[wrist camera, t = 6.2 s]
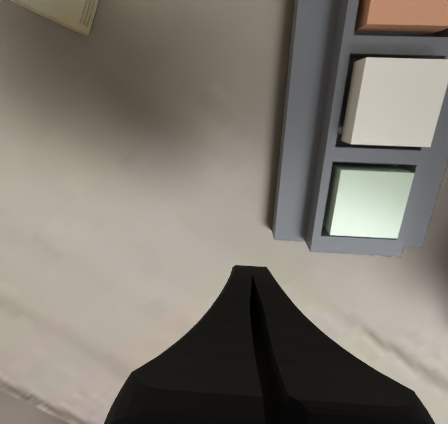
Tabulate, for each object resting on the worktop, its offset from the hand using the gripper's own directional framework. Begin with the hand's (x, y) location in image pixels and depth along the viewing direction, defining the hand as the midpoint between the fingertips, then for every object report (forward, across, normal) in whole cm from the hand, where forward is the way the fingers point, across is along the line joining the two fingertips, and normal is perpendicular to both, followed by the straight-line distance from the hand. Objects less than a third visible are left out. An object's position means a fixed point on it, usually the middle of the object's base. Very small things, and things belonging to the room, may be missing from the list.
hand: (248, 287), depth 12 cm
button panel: (+10, -7, -7) cm, 14 cm away
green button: (+8, -7, -2) cm, 11 cm away
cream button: (+7, -7, -7) cm, 12 cm away
